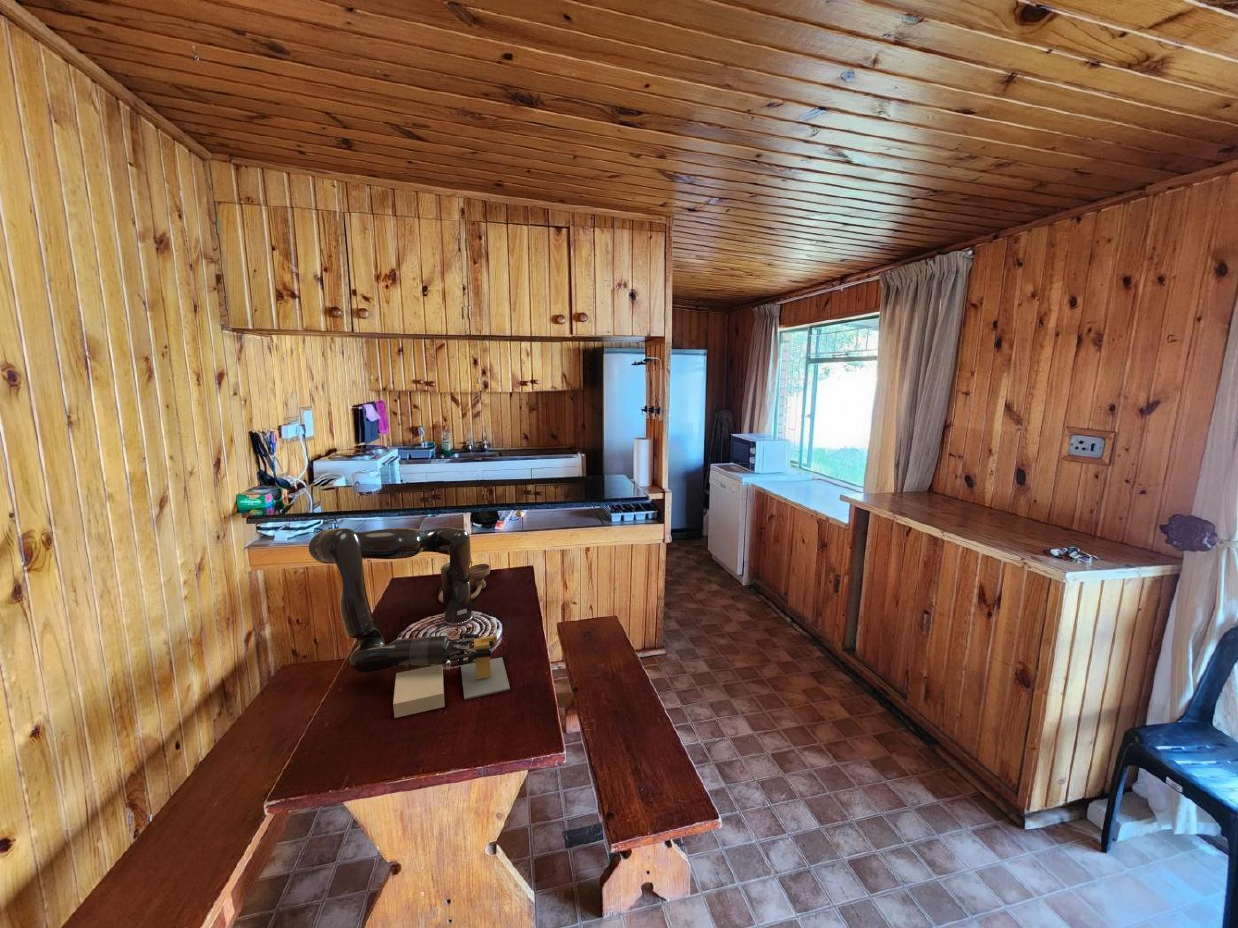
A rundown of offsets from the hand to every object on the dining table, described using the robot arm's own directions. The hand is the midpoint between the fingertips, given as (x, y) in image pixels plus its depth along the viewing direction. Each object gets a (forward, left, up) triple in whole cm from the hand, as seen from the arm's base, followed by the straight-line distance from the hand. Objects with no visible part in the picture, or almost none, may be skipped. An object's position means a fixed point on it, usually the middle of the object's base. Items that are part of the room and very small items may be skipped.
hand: (491, 647), depth 142 cm
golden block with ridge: (-1, -2, -8) cm, 8 cm away
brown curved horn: (-61, -3, -10) cm, 62 cm away
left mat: (-1, -2, -9) cm, 10 cm away
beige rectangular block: (+1, -19, -9) cm, 22 cm away
